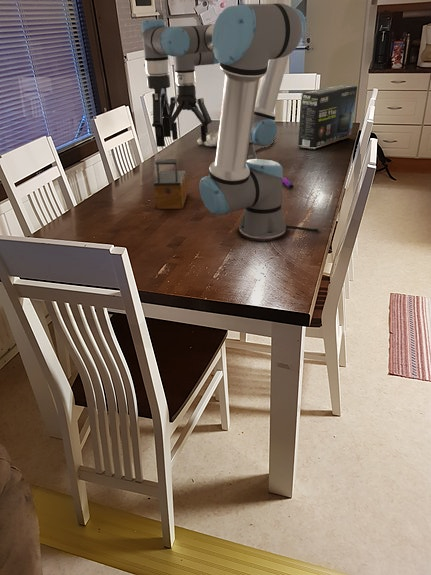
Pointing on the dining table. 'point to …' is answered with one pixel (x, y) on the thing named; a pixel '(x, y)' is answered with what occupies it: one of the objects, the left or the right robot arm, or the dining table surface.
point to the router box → (326, 115)
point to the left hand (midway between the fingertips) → (189, 140)
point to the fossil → (210, 139)
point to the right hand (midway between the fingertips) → (164, 141)
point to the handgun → (287, 183)
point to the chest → (171, 196)
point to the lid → (168, 174)
